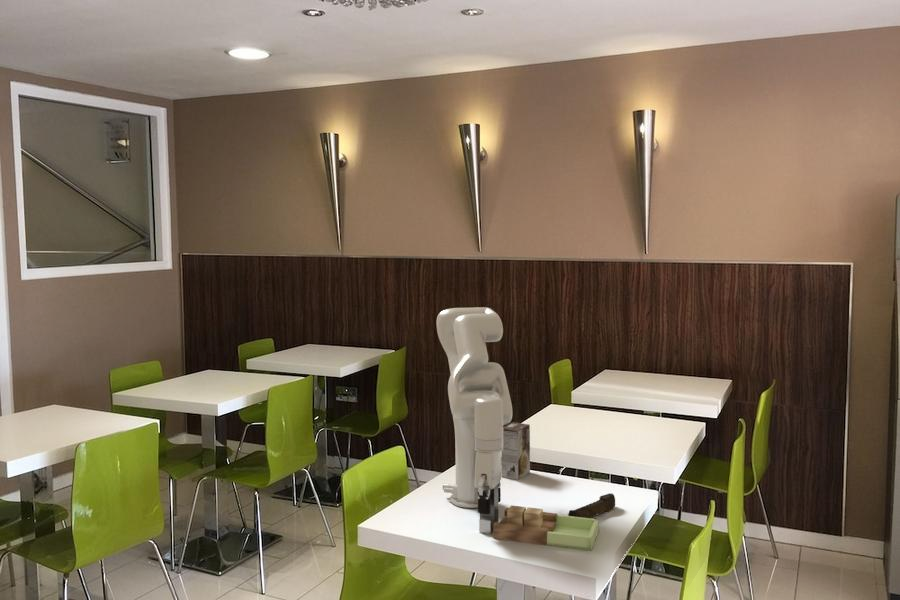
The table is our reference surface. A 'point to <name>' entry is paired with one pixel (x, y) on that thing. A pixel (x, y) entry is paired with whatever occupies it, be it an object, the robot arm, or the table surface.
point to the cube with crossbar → (489, 519)
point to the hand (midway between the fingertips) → (489, 507)
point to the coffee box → (515, 450)
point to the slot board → (525, 530)
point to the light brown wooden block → (533, 517)
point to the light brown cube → (515, 515)
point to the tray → (574, 532)
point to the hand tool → (595, 507)
